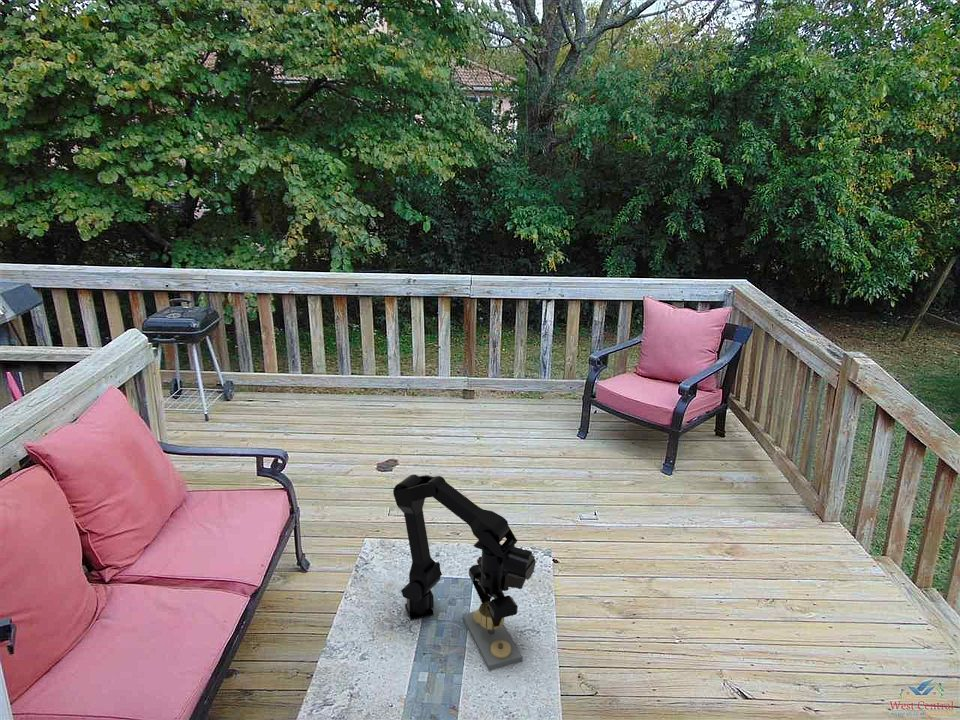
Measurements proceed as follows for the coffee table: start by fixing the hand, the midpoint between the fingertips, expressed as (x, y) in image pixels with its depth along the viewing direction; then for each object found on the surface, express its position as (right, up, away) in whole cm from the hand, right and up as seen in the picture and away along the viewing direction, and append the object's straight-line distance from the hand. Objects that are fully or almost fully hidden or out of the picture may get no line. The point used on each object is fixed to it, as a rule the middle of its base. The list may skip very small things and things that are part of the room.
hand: (491, 617), depth 167 cm
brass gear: (0, -1, 0) cm, 1 cm away
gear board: (0, -6, +2) cm, 7 cm away
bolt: (0, +1, +26) cm, 26 cm away
